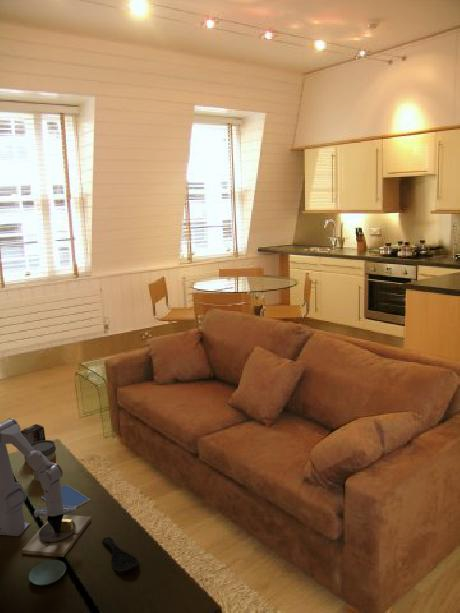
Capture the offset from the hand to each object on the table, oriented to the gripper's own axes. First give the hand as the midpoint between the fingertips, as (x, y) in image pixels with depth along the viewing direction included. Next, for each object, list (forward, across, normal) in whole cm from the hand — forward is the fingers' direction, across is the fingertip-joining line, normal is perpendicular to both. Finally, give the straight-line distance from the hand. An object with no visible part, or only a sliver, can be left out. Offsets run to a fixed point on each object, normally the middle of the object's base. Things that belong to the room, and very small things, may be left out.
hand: (58, 532), depth 196 cm
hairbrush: (+5, -23, +10) cm, 25 cm away
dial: (+3, +2, -5) cm, 6 cm away
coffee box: (+5, +28, -70) cm, 75 cm away
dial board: (+5, +2, -5) cm, 7 cm away
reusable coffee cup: (+5, +20, -52) cm, 55 cm away
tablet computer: (+6, +5, -30) cm, 31 cm away
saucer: (+5, -1, +18) cm, 19 cm away
